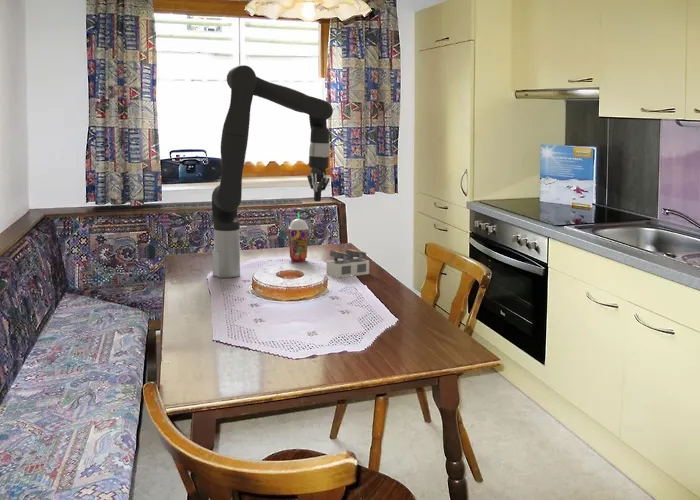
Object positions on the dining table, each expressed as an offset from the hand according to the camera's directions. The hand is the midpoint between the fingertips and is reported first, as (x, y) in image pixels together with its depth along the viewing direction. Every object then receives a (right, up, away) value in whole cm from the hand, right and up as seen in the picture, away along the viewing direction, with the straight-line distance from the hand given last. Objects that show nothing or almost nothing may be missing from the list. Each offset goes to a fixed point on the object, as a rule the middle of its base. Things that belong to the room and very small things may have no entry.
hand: (317, 201), depth 259 cm
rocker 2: (+15, -20, -1) cm, 25 cm away
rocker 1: (+9, -21, -5) cm, 23 cm away
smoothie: (-9, -23, +20) cm, 32 cm away
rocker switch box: (+12, -28, -2) cm, 30 cm away
